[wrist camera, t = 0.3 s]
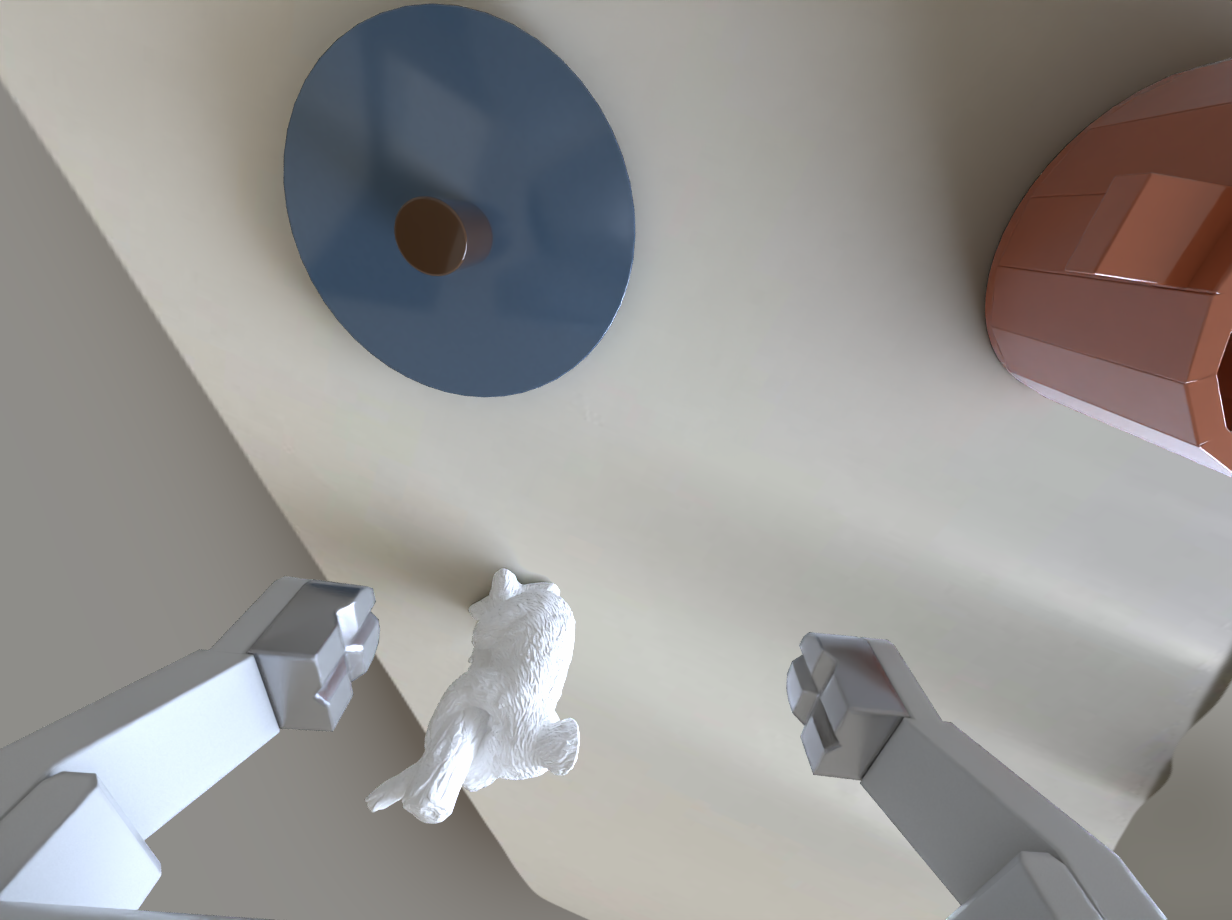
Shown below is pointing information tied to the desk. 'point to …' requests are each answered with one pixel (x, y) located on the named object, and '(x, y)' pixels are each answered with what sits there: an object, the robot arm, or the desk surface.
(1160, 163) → the pot
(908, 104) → the desk surface
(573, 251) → the lid
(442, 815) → the koala figurine
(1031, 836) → the robot arm
